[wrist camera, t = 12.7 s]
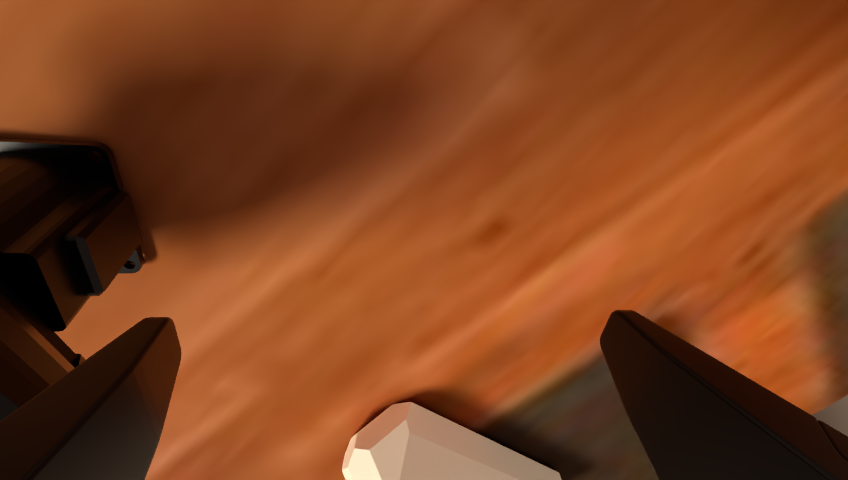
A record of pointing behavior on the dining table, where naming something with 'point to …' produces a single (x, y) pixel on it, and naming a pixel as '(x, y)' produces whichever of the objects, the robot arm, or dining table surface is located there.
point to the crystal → (432, 451)
